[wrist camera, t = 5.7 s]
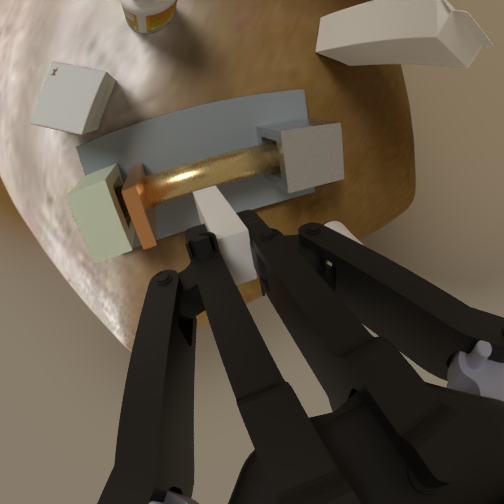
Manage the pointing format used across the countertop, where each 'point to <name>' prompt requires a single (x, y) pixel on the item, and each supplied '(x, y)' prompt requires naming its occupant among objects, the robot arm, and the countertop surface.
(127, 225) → the socket
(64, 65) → the product box
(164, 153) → the board
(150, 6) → the supplement bottle
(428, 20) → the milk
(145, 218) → the tube
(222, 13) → the countertop surface
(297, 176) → the grey cube end cap
